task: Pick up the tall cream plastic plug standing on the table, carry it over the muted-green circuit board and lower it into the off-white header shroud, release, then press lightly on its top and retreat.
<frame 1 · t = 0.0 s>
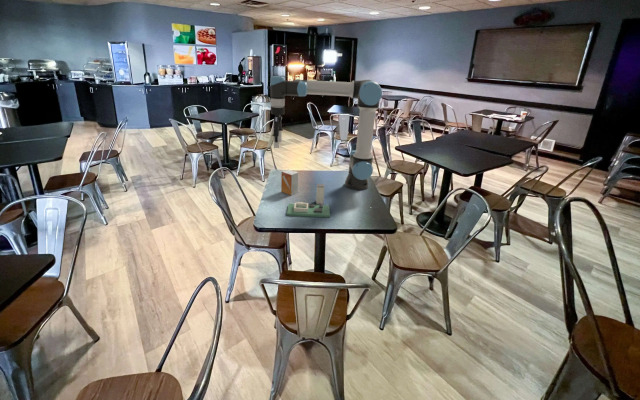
hand: (277, 144, 183), 28 cm above the table, fingers open, 13 cm apart
small box: (289, 192, 192), on the table
board: (308, 211, 169), on the table
plug: (319, 202, 180), on the table
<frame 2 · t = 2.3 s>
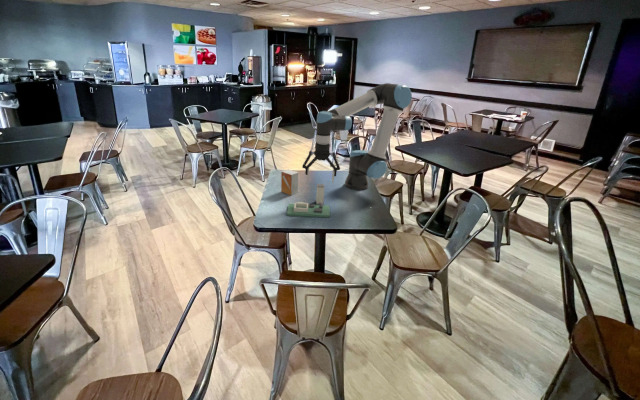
hand: (320, 181, 175), 13 cm above the table, fingers open, 13 cm apart
nothing on the table moved.
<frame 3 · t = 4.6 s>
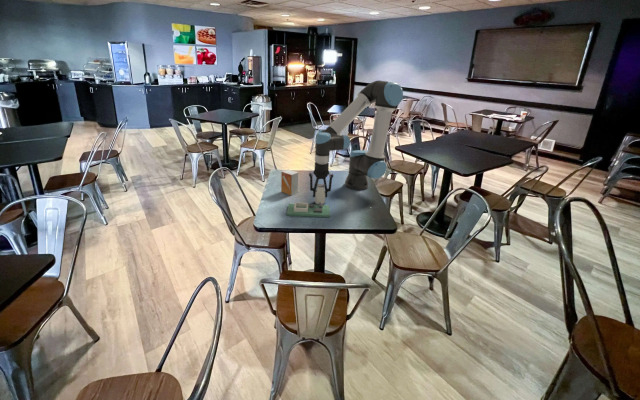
hand: (319, 202, 180), 0 cm above the table, fingers closed on plug, 4 cm apart
plug: (319, 202, 180), on the table, touching gripper
everything else where it was.
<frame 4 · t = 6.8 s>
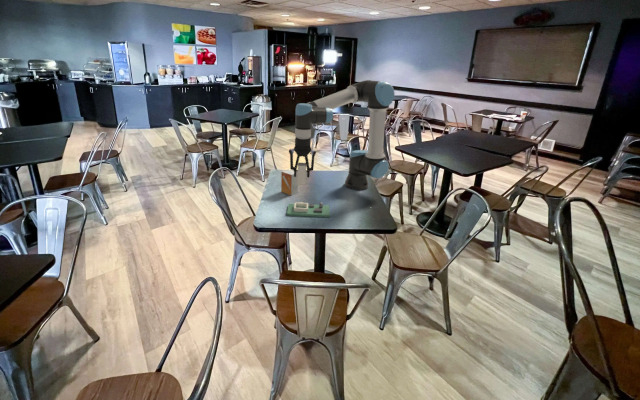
hand: (301, 182, 163), 16 cm above the table, fingers closed on plug, 4 cm apart
plug: (301, 183, 163), point 16 cm above the table, touching gripper
everything else where it was.
when the fingers open (4 cm above the table, at t = 8.9 s): plug drops 3 cm, resting on board.
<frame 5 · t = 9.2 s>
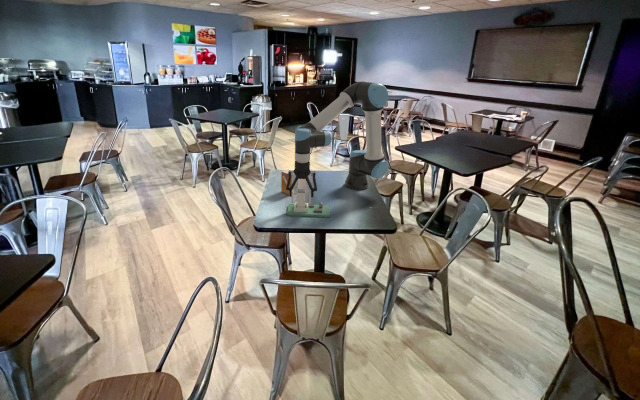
hand: (301, 202, 167), 5 cm above the table, fingers open, 8 cm apart
plug: (300, 208, 169), point 1 cm above the table, touching board
everything else where it was.
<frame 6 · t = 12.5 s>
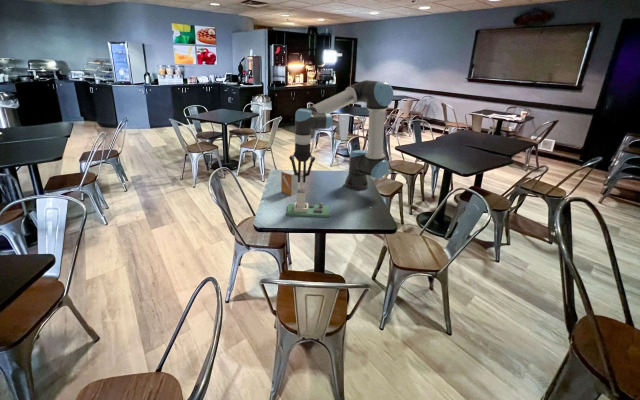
hand: (301, 188, 164), 13 cm above the table, fingers closed
nothing on the table moved.
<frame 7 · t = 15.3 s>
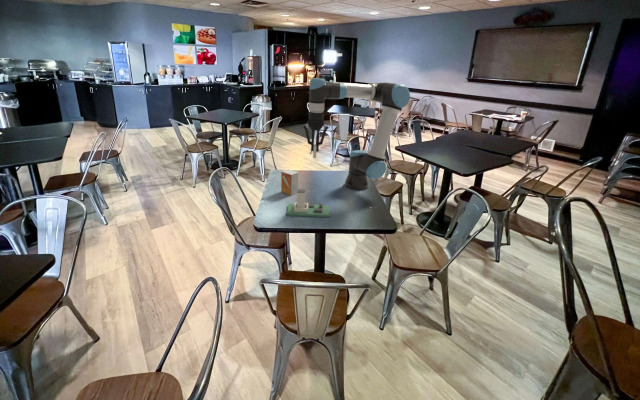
hand: (314, 157, 169), 26 cm above the table, fingers closed
nothing on the table moved.
at the end: plug 0.1 cm from the target spot on the board, point 1.2 cm above the board's base; plug tilted 0°; the gripper is holding nothing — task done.
